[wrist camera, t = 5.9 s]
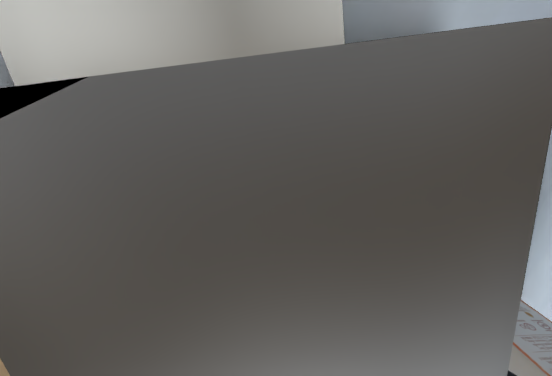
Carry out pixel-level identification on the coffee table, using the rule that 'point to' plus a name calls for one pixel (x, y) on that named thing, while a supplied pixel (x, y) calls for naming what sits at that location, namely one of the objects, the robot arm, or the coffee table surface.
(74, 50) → the grey mat
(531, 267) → the coffee table surface
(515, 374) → the robot arm
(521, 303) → the cracker box
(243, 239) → the grey and cream hammer
